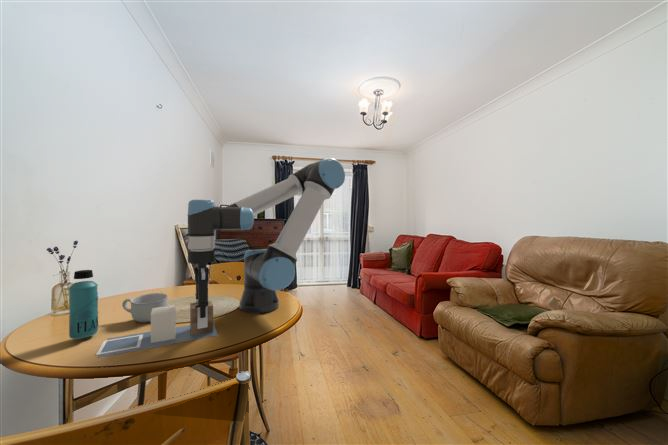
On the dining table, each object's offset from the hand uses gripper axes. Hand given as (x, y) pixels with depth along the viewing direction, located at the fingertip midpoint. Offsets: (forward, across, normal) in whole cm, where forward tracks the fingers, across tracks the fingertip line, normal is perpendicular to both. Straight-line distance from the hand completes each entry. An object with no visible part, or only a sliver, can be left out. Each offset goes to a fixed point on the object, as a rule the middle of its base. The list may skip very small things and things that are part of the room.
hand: (201, 323), depth 87 cm
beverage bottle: (+3, -10, -30) cm, 32 cm away
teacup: (+3, -20, -16) cm, 26 cm away
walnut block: (+2, 0, 0) cm, 2 cm away
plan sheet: (+2, 0, -10) cm, 10 cm away
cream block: (+2, 0, -10) cm, 10 cm away
